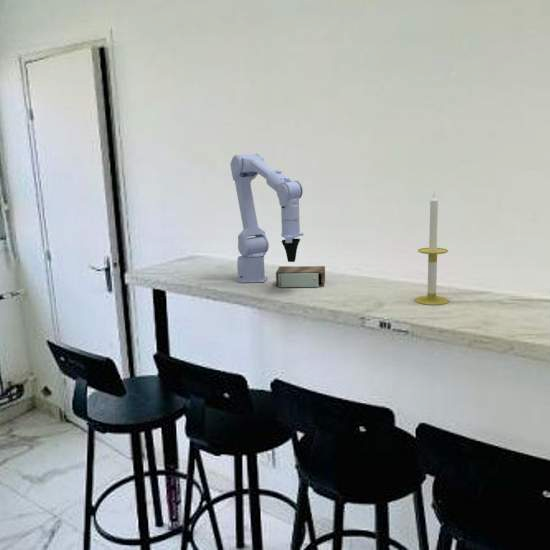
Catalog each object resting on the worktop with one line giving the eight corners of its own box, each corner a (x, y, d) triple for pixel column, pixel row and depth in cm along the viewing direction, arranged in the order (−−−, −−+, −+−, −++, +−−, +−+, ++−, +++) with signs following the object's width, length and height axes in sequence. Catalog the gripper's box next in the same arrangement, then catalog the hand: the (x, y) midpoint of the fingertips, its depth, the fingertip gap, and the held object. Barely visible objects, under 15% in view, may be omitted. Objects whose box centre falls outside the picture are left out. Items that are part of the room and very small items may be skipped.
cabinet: (276, 286, 204) (275, 272, 203) (279, 280, 213) (279, 266, 212) (323, 286, 202) (323, 272, 200) (325, 280, 211) (324, 266, 210)
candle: (449, 297, 183) (452, 189, 176) (448, 305, 174) (452, 192, 167) (415, 296, 186) (417, 190, 179) (413, 304, 177) (415, 193, 170)
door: (278, 287, 201) (277, 274, 200) (278, 286, 203) (278, 273, 202) (318, 287, 199) (318, 274, 198) (318, 286, 201) (318, 273, 200)
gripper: (301, 222, 184) (302, 265, 187) (304, 216, 198) (305, 257, 201) (278, 222, 185) (279, 266, 188) (283, 217, 199) (284, 257, 202)
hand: (291, 261), depth 195 cm, fingers closed
